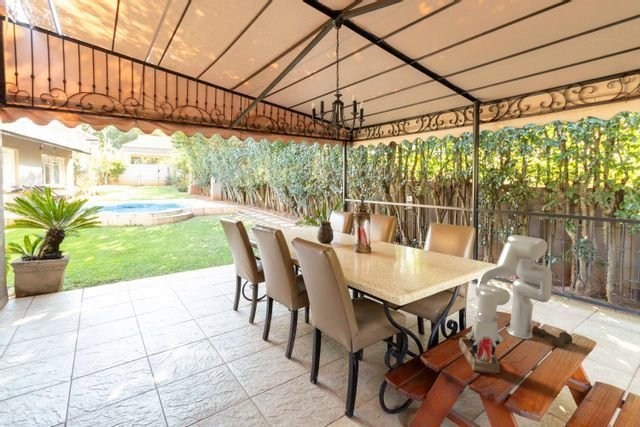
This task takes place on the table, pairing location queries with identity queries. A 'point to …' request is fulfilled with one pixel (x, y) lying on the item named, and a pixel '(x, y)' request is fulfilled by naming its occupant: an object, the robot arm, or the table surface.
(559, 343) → the kendama
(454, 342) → the table surface
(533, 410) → the table surface
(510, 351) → the table surface
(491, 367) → the drinks caddy
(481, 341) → the soda can
